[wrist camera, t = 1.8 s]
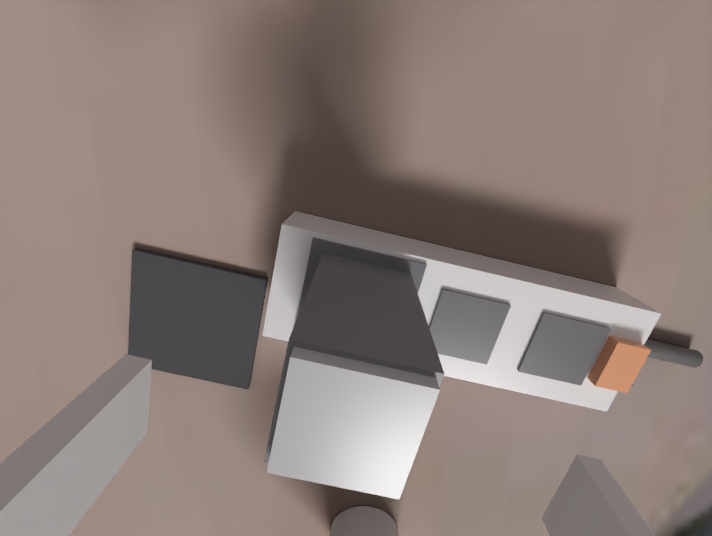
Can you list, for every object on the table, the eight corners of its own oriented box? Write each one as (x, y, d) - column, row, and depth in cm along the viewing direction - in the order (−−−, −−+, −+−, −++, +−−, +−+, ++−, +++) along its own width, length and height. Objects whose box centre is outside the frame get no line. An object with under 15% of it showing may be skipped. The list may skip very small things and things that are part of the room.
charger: (305, 331, 22) (260, 476, 13) (322, 253, 20) (284, 349, 11) (387, 350, 22) (403, 505, 13) (411, 273, 21) (448, 385, 11)
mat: (131, 360, 28) (127, 363, 28) (136, 248, 25) (132, 249, 25) (249, 386, 28) (248, 389, 28) (267, 278, 26) (266, 280, 25)
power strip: (277, 307, 26) (258, 342, 22) (295, 210, 24) (278, 227, 19) (662, 393, 28) (721, 443, 23) (713, 310, 25) (789, 347, 21)
